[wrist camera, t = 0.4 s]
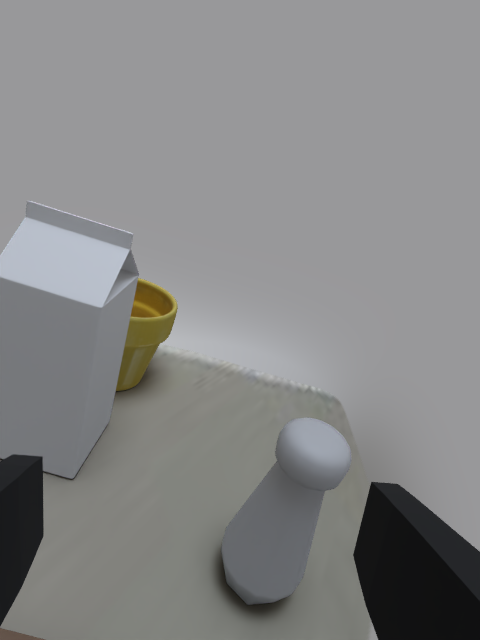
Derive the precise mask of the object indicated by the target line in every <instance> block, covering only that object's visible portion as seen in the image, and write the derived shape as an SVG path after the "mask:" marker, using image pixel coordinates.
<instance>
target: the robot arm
mask: <svg viewBox="0 0 480 640" xmlns="http://www.w3.org/2000/svg"><path fill="white" fill-rule="evenodd" d="M42 538H43V456H30V455H17V454H12V455H11V456H9V457H7V458H5V459H4V460H2V461H0V626H1V624H2V622H3V620H4V618H5V617H6V615H7V613H8V611H9V609H10V608H11V606H12V604H13V602H14V600H15V598H16V597H17V595H18V593H19V591H20V589H21V587H22V585H23V583H24V580H25V578H26V576H27V574H28V571H29V569H30V567H31V564H32V562H33V560H34V557H35V555H36V552H37V550H38V548H39V545H40V543H41V540H42ZM353 556H354V560H355V564H356V568H357V572H358V577H359V581H360V585H361V588H362V592H363V596H364V600H365V603H366V607H367V609H368V612H369V615H370V618H371V621H372V623H373V626H374V629H375V631H376V634H377V637H378V640H480V552H479V551H478V550H477V549H476V548H475V547H473V546H472V545H471V544H470V543H469V542H467V541H466V540H465V539H464V538H463V537H461V536H460V535H459V534H458V533H457V532H455V531H454V530H453V529H452V528H451V527H450V526H448V525H447V524H446V523H445V522H444V521H442V520H441V519H440V518H439V517H438V516H437V515H435V514H434V513H433V512H432V511H431V510H429V509H428V508H427V507H426V506H424V505H423V504H422V503H421V502H420V501H419V500H417V499H416V498H415V497H414V496H413V495H411V494H410V493H409V492H407V491H406V490H405V489H404V488H402V487H401V486H400V485H398V484H390V483H378V482H371V486H370V490H369V494H368V498H367V502H366V506H365V510H364V514H363V518H362V522H361V526H360V530H359V534H358V538H357V542H356V546H355V550H354V554H353Z"/></svg>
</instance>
